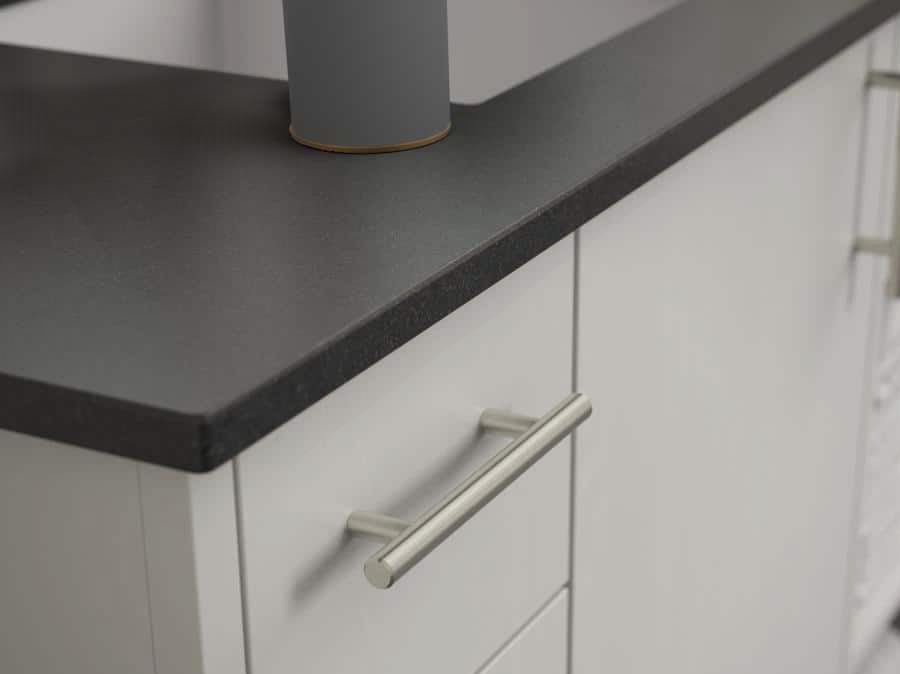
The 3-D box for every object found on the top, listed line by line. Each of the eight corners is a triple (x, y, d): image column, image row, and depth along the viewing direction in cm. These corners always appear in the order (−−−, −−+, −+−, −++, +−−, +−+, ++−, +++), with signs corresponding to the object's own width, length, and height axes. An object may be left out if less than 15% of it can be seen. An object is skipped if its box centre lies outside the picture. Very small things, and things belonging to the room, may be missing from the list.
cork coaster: (316, 161, 83) (316, 155, 82) (270, 119, 90) (270, 114, 89) (475, 140, 85) (475, 135, 85) (418, 101, 92) (418, 96, 92)
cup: (264, 138, 85) (248, -62, 80) (332, 98, 92) (320, -89, 87) (414, 152, 83) (406, -54, 78) (472, 110, 89) (468, -82, 85)
